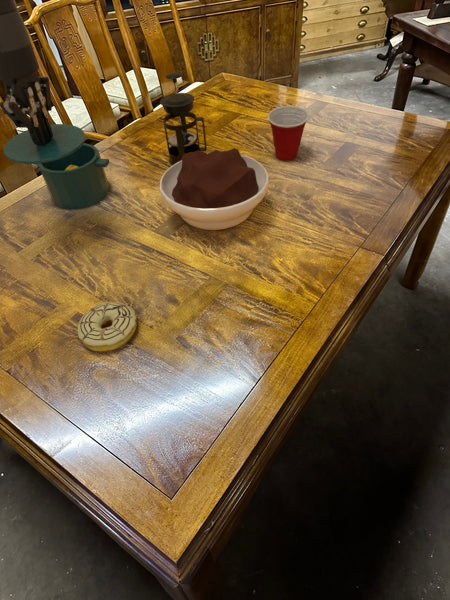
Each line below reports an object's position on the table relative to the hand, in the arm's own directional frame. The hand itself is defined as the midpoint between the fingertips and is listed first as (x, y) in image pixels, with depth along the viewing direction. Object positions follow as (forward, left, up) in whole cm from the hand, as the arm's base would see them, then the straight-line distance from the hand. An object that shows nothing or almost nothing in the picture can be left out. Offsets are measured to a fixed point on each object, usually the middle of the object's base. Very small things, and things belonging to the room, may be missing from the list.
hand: (44, 140), depth 83 cm
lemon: (-7, +15, -22) cm, 28 cm away
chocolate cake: (+31, +11, -23) cm, 40 cm away
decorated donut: (+19, -28, -23) cm, 41 cm away
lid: (0, 0, -1) cm, 1 cm away
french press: (+17, +36, -23) cm, 46 cm away
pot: (-7, +16, -23) cm, 28 cm away
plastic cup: (+45, +40, -23) cm, 64 cm away
